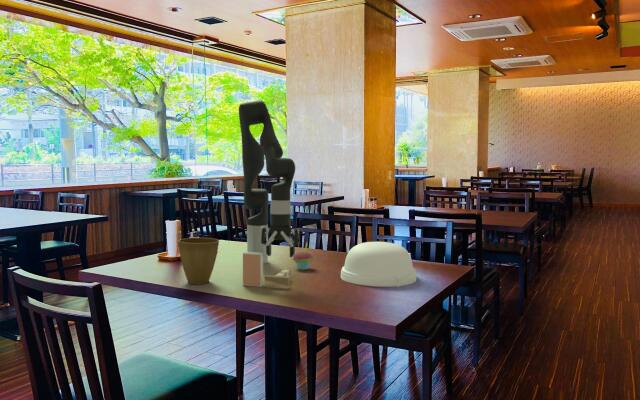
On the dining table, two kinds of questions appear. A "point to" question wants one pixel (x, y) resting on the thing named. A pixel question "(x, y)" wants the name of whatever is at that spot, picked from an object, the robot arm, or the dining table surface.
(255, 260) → the pink white upright block
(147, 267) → the dining table surface
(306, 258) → the cupcake
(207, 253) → the plant pot
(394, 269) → the dome cover
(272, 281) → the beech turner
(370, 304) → the dining table surface
